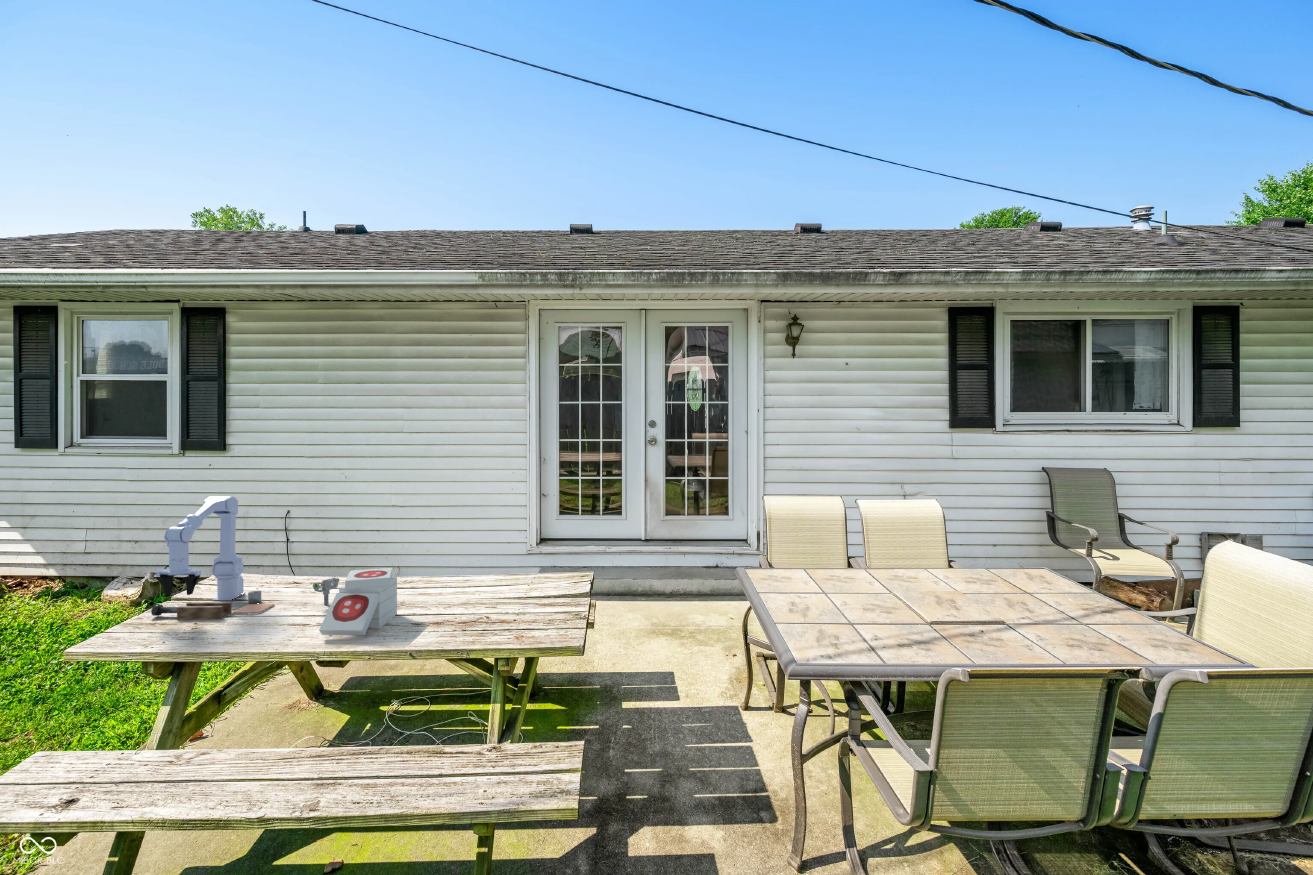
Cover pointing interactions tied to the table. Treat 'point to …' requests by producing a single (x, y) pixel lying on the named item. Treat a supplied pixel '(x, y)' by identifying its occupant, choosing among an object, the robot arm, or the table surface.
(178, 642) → the table surface
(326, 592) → the mechanical component
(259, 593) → the block
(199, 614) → the shaft housing
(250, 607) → the terracotta tile
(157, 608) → the shaft
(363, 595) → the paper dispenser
